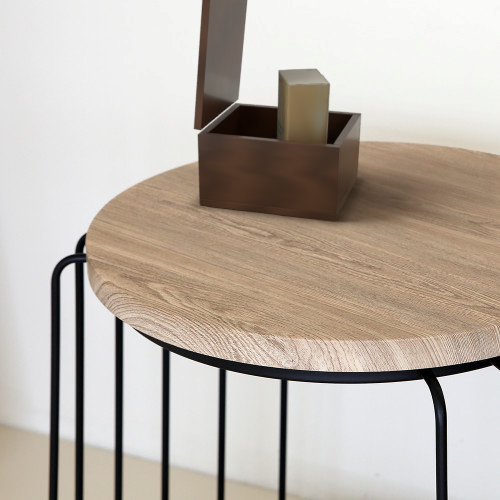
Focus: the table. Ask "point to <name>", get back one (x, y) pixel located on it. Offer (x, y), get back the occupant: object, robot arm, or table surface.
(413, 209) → the table surface
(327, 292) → the table surface
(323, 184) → the chest
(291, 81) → the cosmetic box
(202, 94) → the lid
